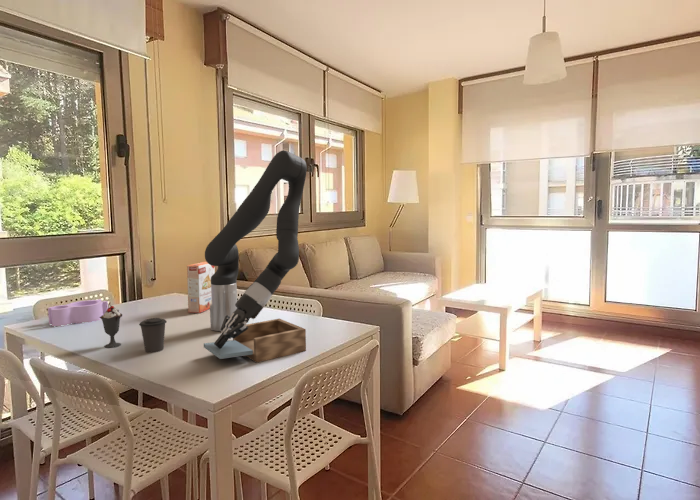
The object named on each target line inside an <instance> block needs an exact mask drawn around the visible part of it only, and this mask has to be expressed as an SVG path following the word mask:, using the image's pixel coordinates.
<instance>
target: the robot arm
mask: <svg viewBox="0 0 700 500" xmlns="http://www.w3.org/2000/svg"><path fill="white" fill-rule="evenodd" d="M307 168H308V167H307V162H306V160H305V159H303V158H302V157H301V156H298V155H296V154H295V153H292V152H289V151H288V150H284V149H283V150H279V151H278V152H277V153H276V154H275V155H274V156H273V157H272V158H271V160H270V161H269V163H268V165H267V167H266V168H265V170H264V171H263V173H262V175H261V176H260V178H259V180H258V182H257V183H255V186H253V189H251V191H250V192H249V194H248V195H247V196H246V198H245V199H244V200H243V201H242V202H241V204H240V205H239V206H238V208H237V210H235V212H234V214H233V215H232V216H231V217H230V218H229V220H228V221H227V223H226V224H225V225H224V227H223V228H222V229H220V231H219V233H217V235H215V237H214V238H213V239H212V240H211V241H210V242H209V243H208V244H207V245H206V248H205V251H204V259H205V262H207V263H208V264H210V265H212V266H215V267H217V270H216V271H215V274H213V275H212V276H211V298H212V304H211V305H210V309H209V317H210V318H209V319H210V321H209V322H210V331H216V332H221V333H220V335H219V336H218V338H217V339H216V340H215V341H214V342H215V343H214V345H215V346H217V347H218V348H222V347H223V346H224V344H225V343H226V342H227V341H229V340H233V339H234V338H235V337H237V336H238V335H240V334H241V333H243V332H244V331H246V330H247V329H248V327H247V326H246V324H248V323H249V321H250V319H252V320H255V319H256V318H257V317H258V316H259V314H260V313H261V312H262V311H263V309H264V308H265V306H266V305H267V304H268V302H269V301H270V300H271V297H272V296H273V294H274V293H275V292H276V290H277V289H278V288H279V287H280V285H281V283H282V280H283V279H284V278H285V277H286V276H287V274H288V273H289V271H290V270H293V269H295V268H296V266H297V265H298V263H299V261H300V249H299V248H300V247H299V245H300V244H299V240H298V238H299V237H298V236H299V235H298V234H299V218H300V217H299V216H300V215H299V214H300V209H301V207H300V206H301V202H302V197H303V193H304V188H305V183H306V182H305V181H306V178H307V170H308V169H307ZM280 180H283V181H286V182H287V183H288V190H287V191H288V192H287V195H286V198H285V200H284V202H283V203H282V205H281V207H280V209H279V210H278V213H277V217H276V228H275V229H276V235H275V236H276V240H278V243H277V246H278V247H277V252H276V253H275V254H274V255H273V256H272V258H271V259H270V261H269V262H268V264H267V265H266V266H265V268H264V270H262V272H261V273H260V274H259V275H258V276H257V278H255V280H254V281H253V282H252V283H251V284H250V285H249V286H248V287H247V289H246V290H245V291H244V292H243V294H241V296H240V297H239V299H238V287H237V286H238V285H237V284H238V283H237V282H238V280H237V279H238V275H239V266H240V265H239V261H240V260H239V259H240V254H239V249H238V245H237V243H238V242H239V241H240V240H241V239H244V237H246V236H248V235H249V234H250V233H252V232H253V231H254V230H255V229H256V228H258V227H259V226H260V224H261V223H262V222H263V221H264V219H265V218H266V217H267V216H268V214H269V212H270V208H271V199H272V197H271V196H272V193H273V190H274V188H275V187H276V186H277V185H278V184H279V182H280Z"/></svg>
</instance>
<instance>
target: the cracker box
mask: <svg viewBox="0 0 700 500" xmlns="http://www.w3.org/2000/svg"><path fill="white" fill-rule="evenodd" d="M215 267H216V266H212V265H210V264H208V263H207V261H201V262H198V263H197V262H196V263H192V264H187V265H186V275H187V278H186V279H187V301H188V302H187V305H188V308H187V309H188V310H187V311H188V314H189V313H191V314H192V313H193V314H201V313H203V312H205V311H208V310H210V305H211V304H212V298H211V276H212V275H213V274H215V273H216V271H215V270H216V269H215Z"/></svg>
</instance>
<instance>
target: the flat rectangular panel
mask: <svg viewBox="0 0 700 500" xmlns="http://www.w3.org/2000/svg"><path fill="white" fill-rule="evenodd" d="M214 343H215V341H214V342H206V343H203V349H205V350H207V351H208V352H210V354H212V355H214V356H215V357H217V358H218V359H219V360H222V359H229V358H235V357H238V358H239V357H242V356H243V357H246V356H245V355H252V354H253V350H251V349H250V348H248V347H246V346H244V345H243V344H241V343H239V342H237V341H236V340H233V339H229V340H227V342H226V343H225V344H224V346H223V347H222V348H218V347H217V346H215V345H214Z"/></svg>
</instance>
